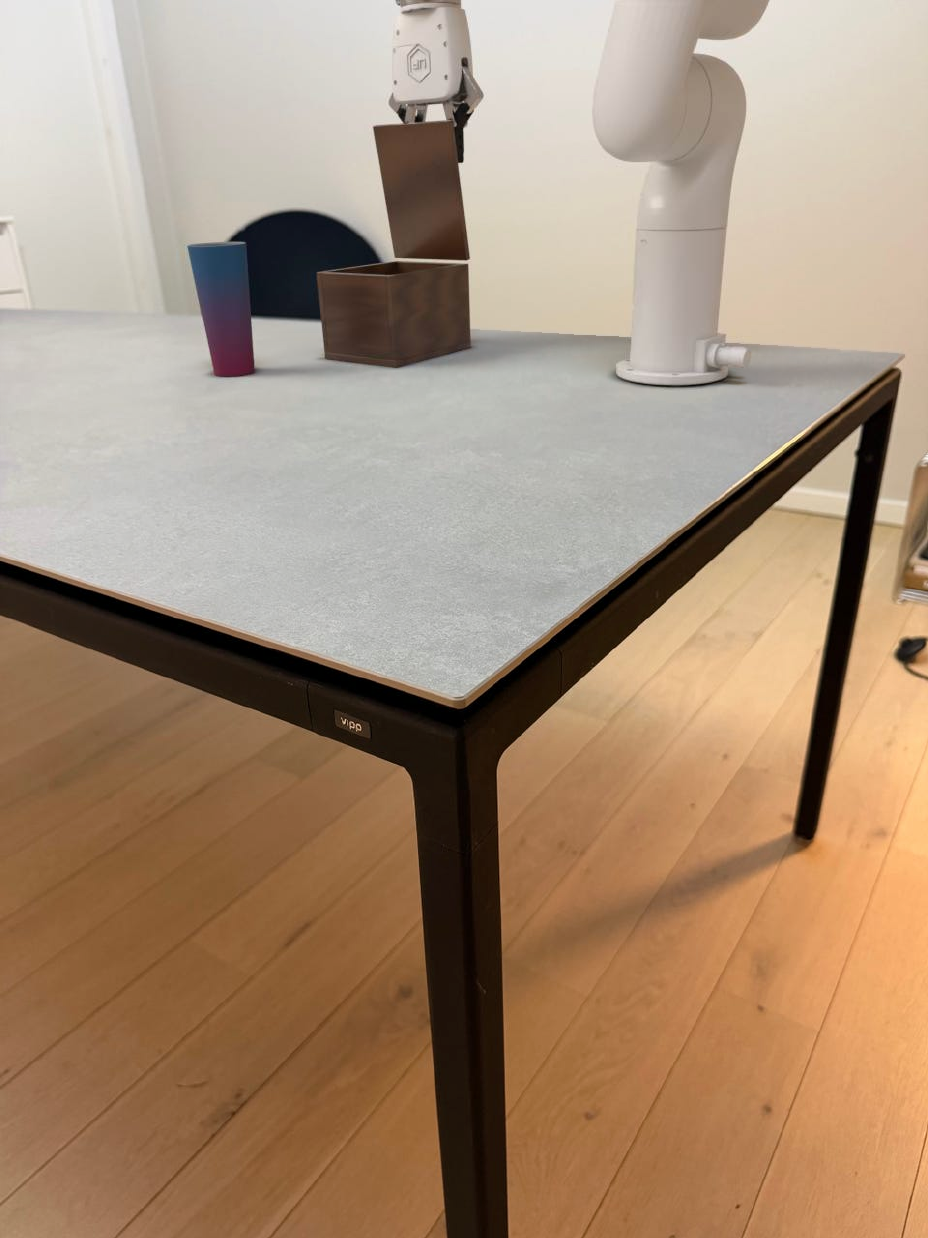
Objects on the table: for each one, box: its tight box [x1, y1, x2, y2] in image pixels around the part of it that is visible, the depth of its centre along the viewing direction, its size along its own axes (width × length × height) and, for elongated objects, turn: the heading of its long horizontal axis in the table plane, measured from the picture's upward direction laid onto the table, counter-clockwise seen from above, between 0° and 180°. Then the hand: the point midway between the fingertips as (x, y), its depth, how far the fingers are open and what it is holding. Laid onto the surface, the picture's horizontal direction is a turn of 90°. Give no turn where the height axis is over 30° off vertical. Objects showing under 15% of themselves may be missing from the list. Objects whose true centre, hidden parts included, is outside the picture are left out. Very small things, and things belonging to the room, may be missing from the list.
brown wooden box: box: [316, 260, 472, 368], centre depth 122 cm, size 16×13×11 cm
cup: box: [186, 241, 256, 377], centre depth 112 cm, size 7×7×15 cm
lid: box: [372, 119, 471, 262], centre depth 121 cm, size 16×13×5 cm
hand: (437, 161), depth 121 cm, fingers closed on lid, 5 cm apart
